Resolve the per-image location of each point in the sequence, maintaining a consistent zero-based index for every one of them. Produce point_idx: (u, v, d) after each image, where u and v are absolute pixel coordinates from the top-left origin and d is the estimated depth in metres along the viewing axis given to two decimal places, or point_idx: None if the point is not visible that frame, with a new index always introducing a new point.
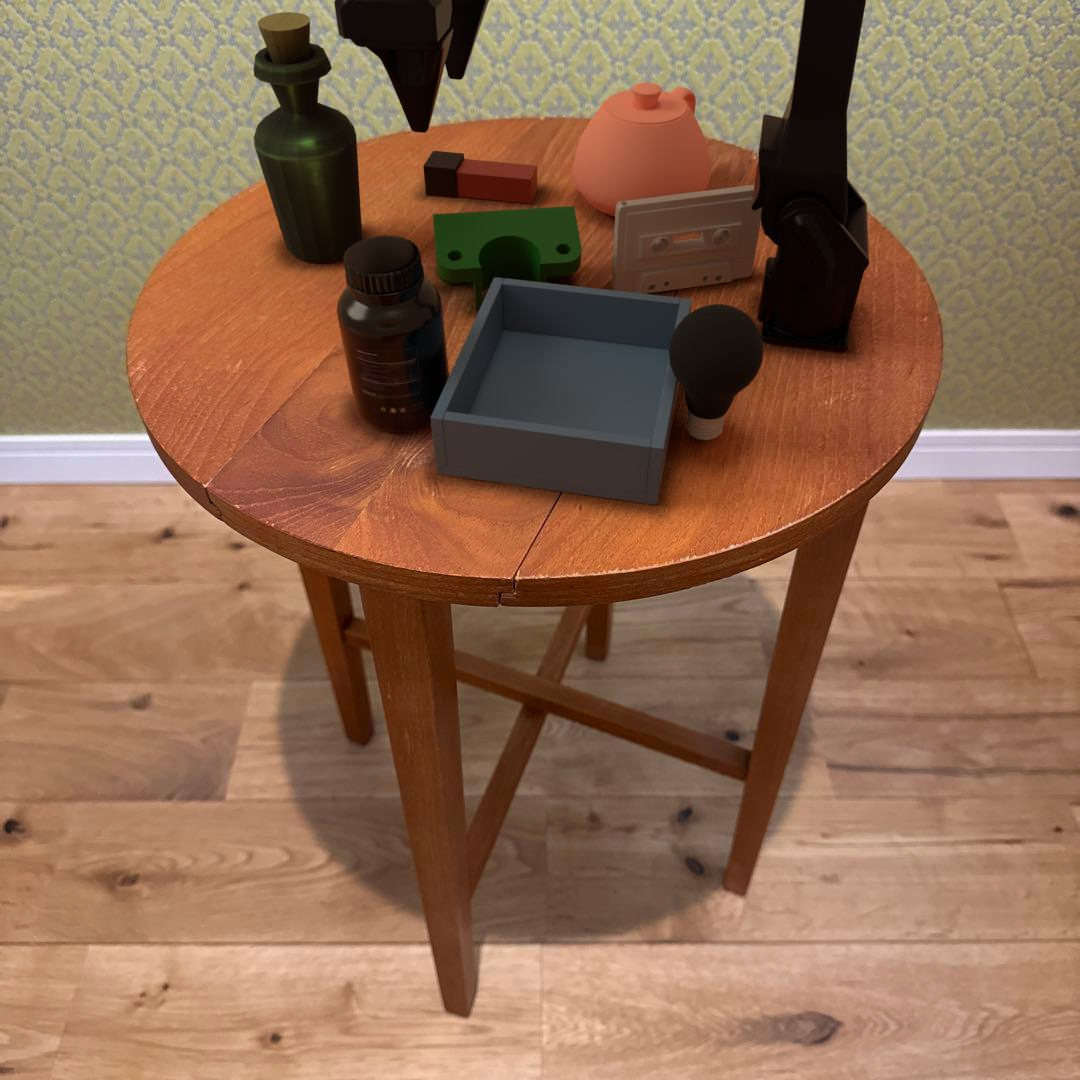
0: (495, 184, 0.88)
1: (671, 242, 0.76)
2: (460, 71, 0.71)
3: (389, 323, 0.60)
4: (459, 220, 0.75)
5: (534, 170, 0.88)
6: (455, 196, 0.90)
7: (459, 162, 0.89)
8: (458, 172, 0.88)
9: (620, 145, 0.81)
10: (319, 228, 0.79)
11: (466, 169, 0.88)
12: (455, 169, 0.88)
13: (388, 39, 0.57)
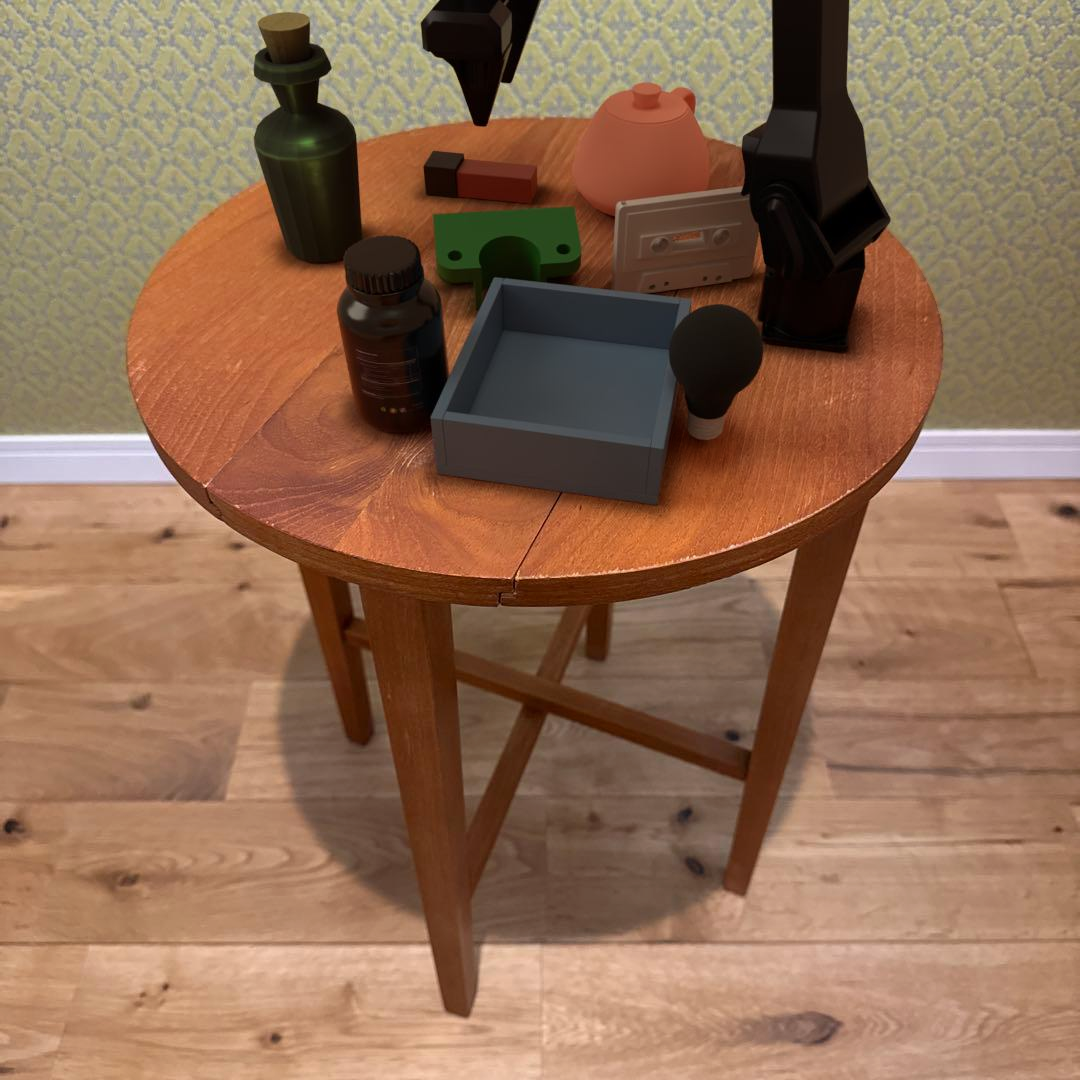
0: (495, 184, 0.88)
1: (671, 242, 0.76)
2: (510, 76, 0.86)
3: (389, 323, 0.60)
4: (459, 220, 0.75)
5: (534, 170, 0.88)
6: (455, 196, 0.90)
7: (459, 162, 0.89)
8: (458, 172, 0.88)
9: (620, 145, 0.81)
10: (319, 228, 0.79)
11: (466, 169, 0.88)
12: (455, 169, 0.88)
13: (463, 52, 0.72)
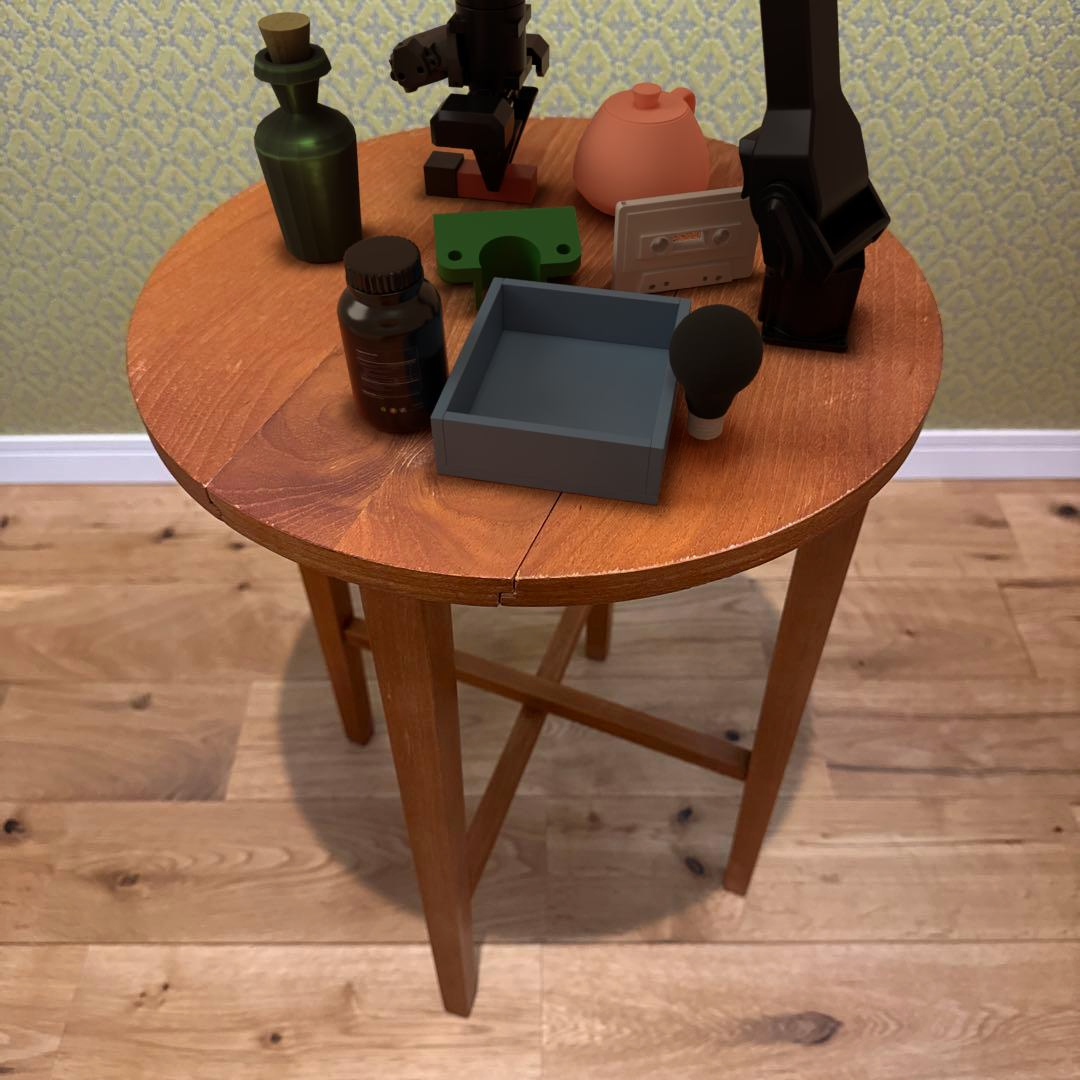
0: None
1: (671, 242, 0.76)
2: None
3: (389, 323, 0.60)
4: (459, 220, 0.75)
5: (534, 170, 0.88)
6: (455, 196, 0.90)
7: (459, 162, 0.89)
8: (458, 172, 0.88)
9: (620, 145, 0.81)
10: (319, 228, 0.79)
11: (466, 169, 0.88)
12: (455, 169, 0.88)
13: (469, 147, 0.78)
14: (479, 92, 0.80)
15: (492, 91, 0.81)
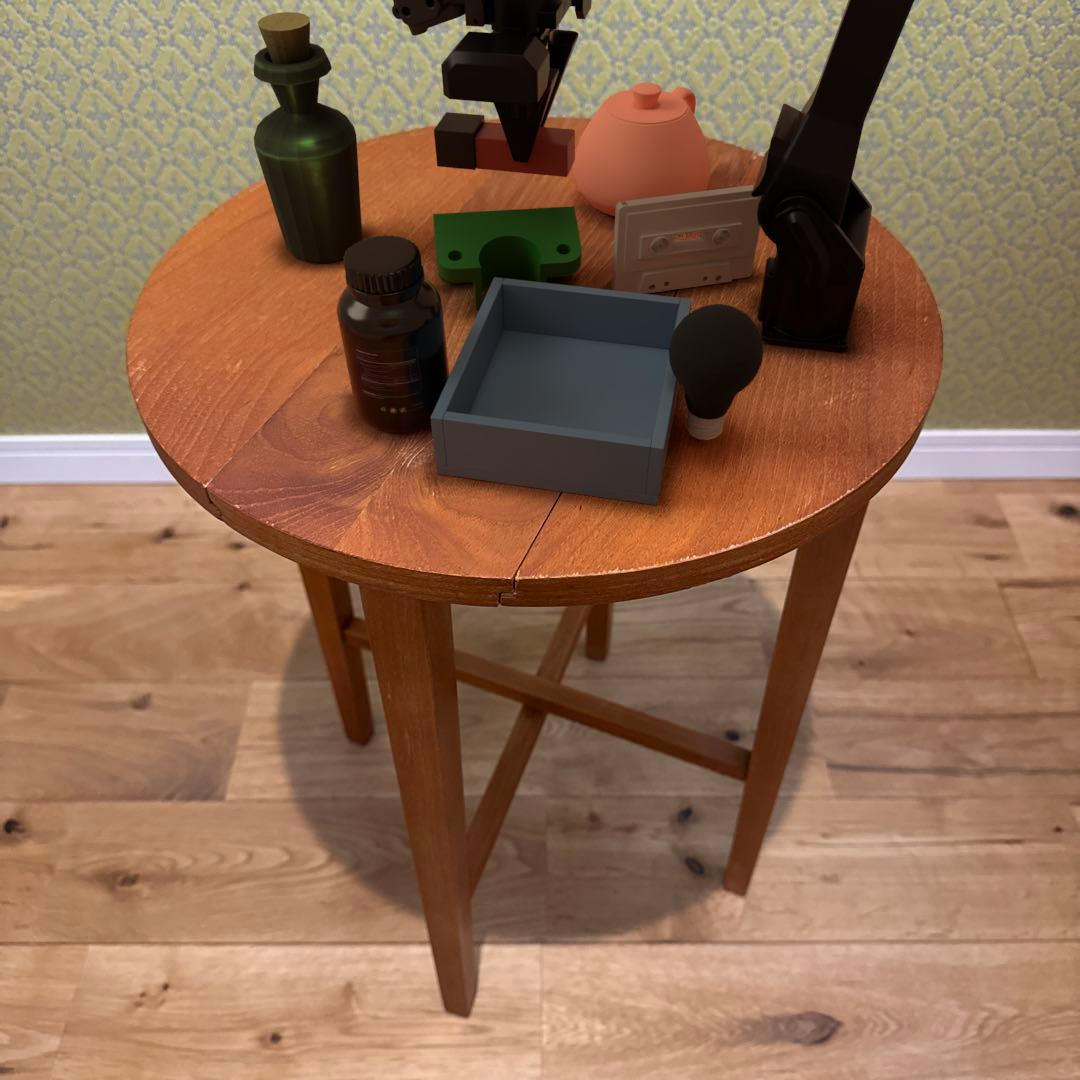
0: None
1: (671, 242, 0.76)
2: None
3: (389, 323, 0.60)
4: (459, 220, 0.75)
5: (571, 135, 0.71)
6: (473, 168, 0.72)
7: (478, 125, 0.72)
8: (477, 137, 0.71)
9: (620, 145, 0.81)
10: (319, 228, 0.79)
11: (487, 134, 0.71)
12: (473, 134, 0.71)
13: (491, 100, 0.61)
14: (505, 31, 0.63)
15: (521, 30, 0.63)
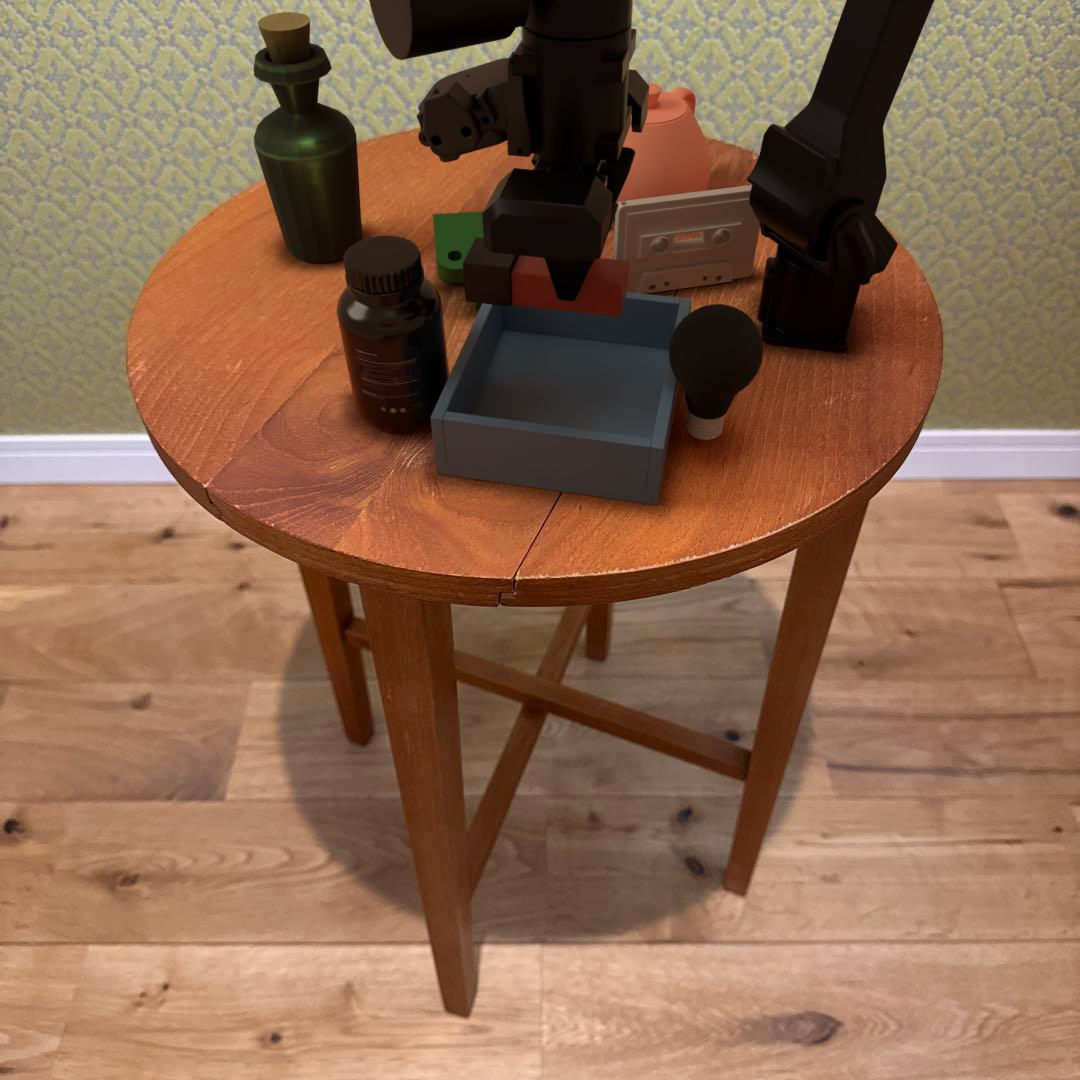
0: None
1: (671, 242, 0.76)
2: None
3: (389, 323, 0.60)
4: (459, 220, 0.75)
5: (625, 269, 0.60)
6: (508, 305, 0.61)
7: (515, 256, 0.61)
8: (514, 272, 0.60)
9: None
10: (319, 228, 0.79)
11: (525, 268, 0.60)
12: (510, 268, 0.60)
13: (543, 255, 0.50)
14: (556, 164, 0.52)
15: (575, 162, 0.53)
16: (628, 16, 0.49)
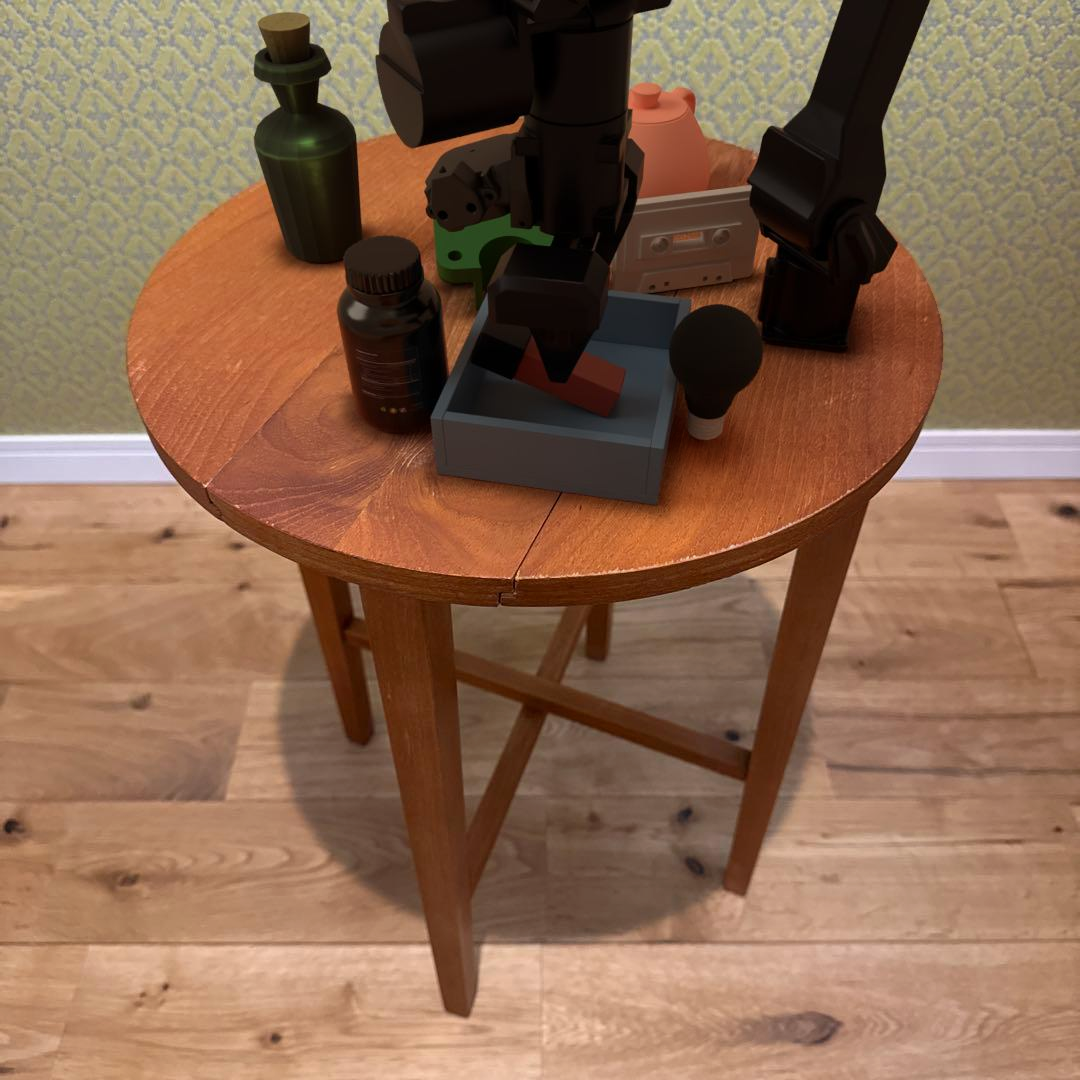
0: (571, 383, 0.65)
1: (671, 242, 0.76)
2: None
3: (389, 323, 0.60)
4: None
5: (623, 377, 0.66)
6: (510, 378, 0.65)
7: (529, 337, 0.65)
8: (527, 353, 0.64)
9: None
10: (319, 228, 0.79)
11: (537, 352, 0.64)
12: (524, 349, 0.64)
13: (545, 326, 0.52)
14: (556, 237, 0.55)
15: (574, 234, 0.55)
16: (625, 101, 0.52)
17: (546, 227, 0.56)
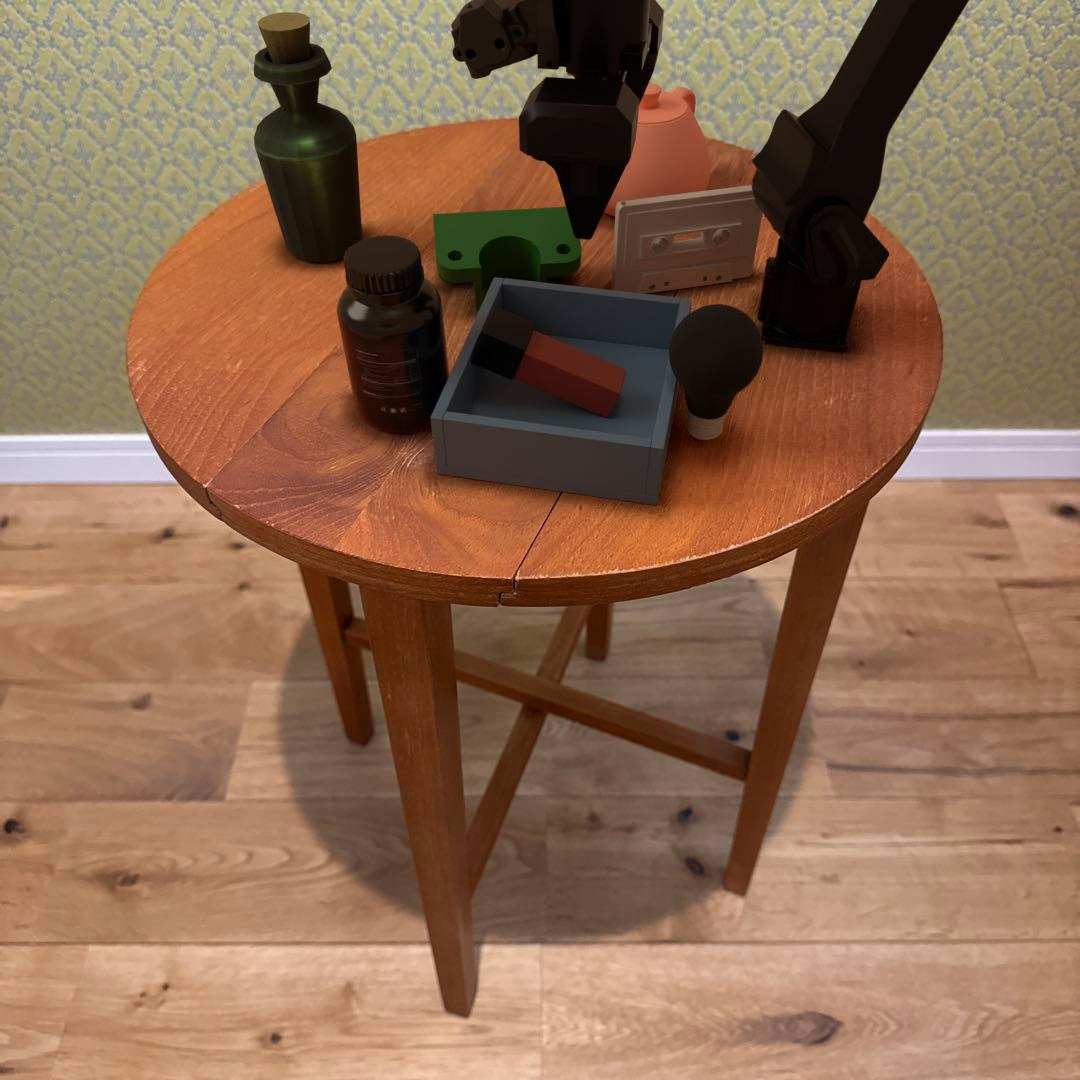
0: (571, 383, 0.65)
1: (671, 242, 0.76)
2: None
3: (389, 323, 0.60)
4: (459, 220, 0.75)
5: (623, 377, 0.66)
6: (510, 378, 0.65)
7: (529, 337, 0.65)
8: (527, 353, 0.64)
9: None
10: (319, 228, 0.79)
11: (537, 352, 0.64)
12: (524, 349, 0.64)
13: (577, 156, 0.53)
14: (584, 75, 0.55)
15: (601, 73, 0.56)
16: None
17: (573, 67, 0.56)
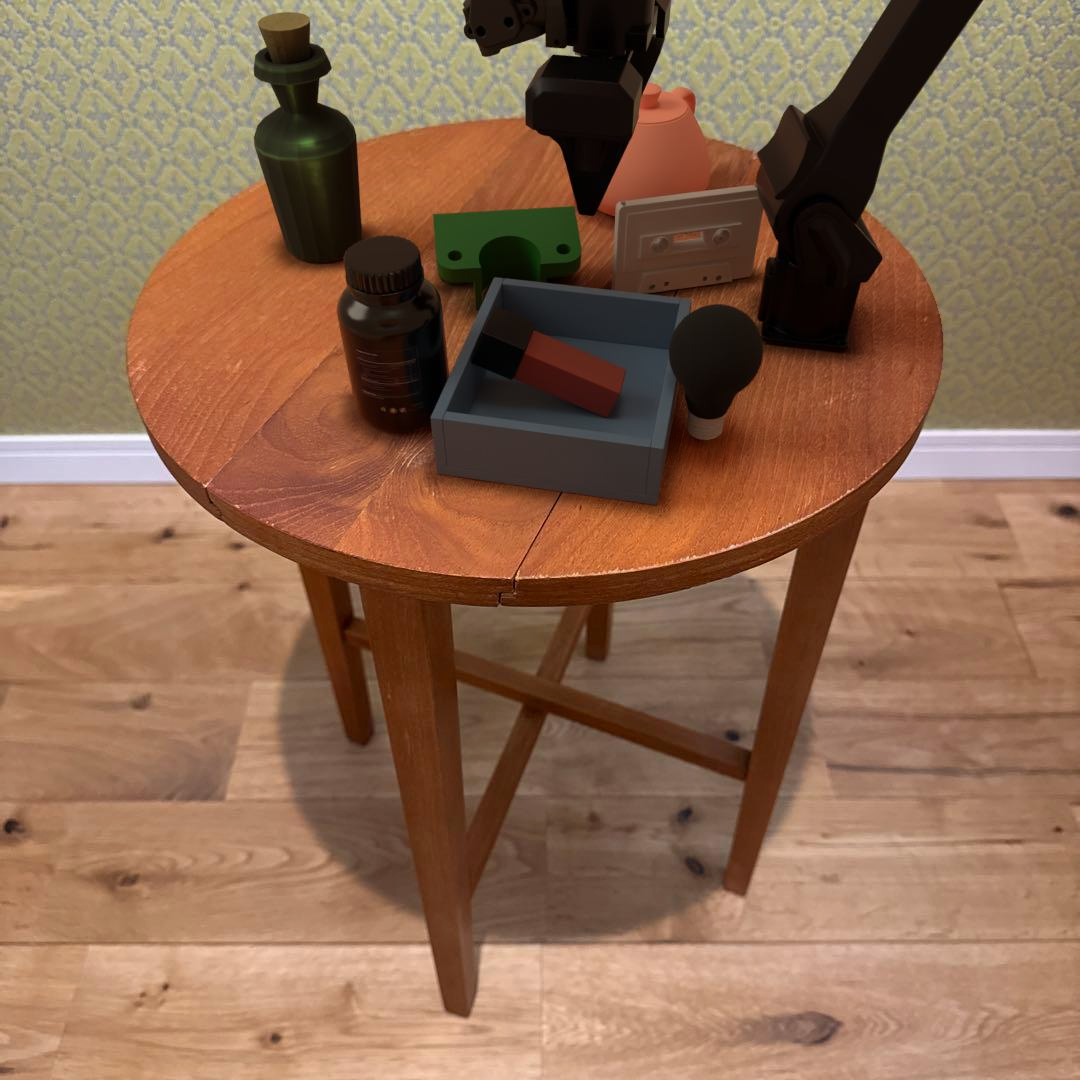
0: (571, 383, 0.65)
1: (671, 242, 0.76)
2: None
3: (389, 323, 0.60)
4: (459, 220, 0.75)
5: (623, 377, 0.66)
6: (510, 378, 0.65)
7: (529, 337, 0.65)
8: (527, 353, 0.64)
9: None
10: (319, 228, 0.79)
11: (537, 352, 0.64)
12: (524, 349, 0.64)
13: (580, 131, 0.55)
14: (590, 54, 0.57)
15: (607, 53, 0.57)
16: None
17: (580, 46, 0.58)
